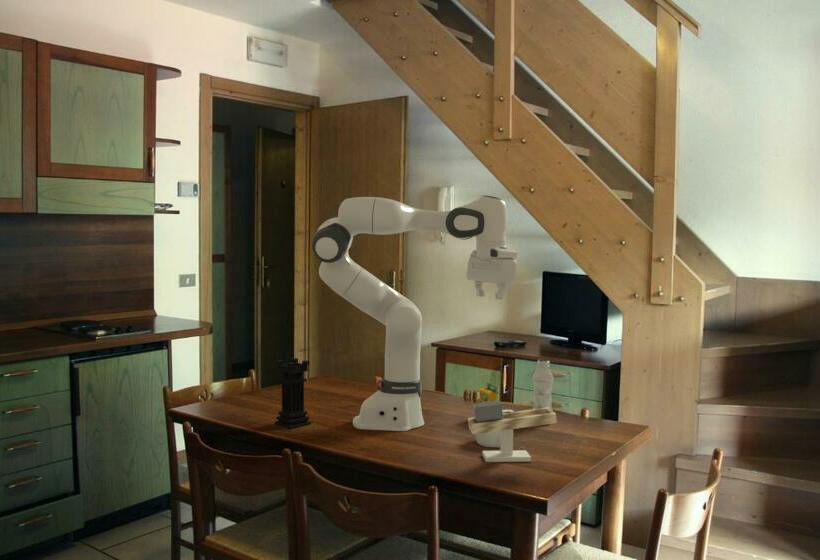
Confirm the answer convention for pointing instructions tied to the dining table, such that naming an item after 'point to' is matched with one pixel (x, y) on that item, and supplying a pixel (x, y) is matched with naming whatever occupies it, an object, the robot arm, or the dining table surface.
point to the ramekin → (489, 439)
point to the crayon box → (488, 394)
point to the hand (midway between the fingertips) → (489, 297)
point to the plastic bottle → (542, 385)
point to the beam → (515, 420)
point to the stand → (507, 449)
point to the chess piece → (292, 394)
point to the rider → (487, 411)
